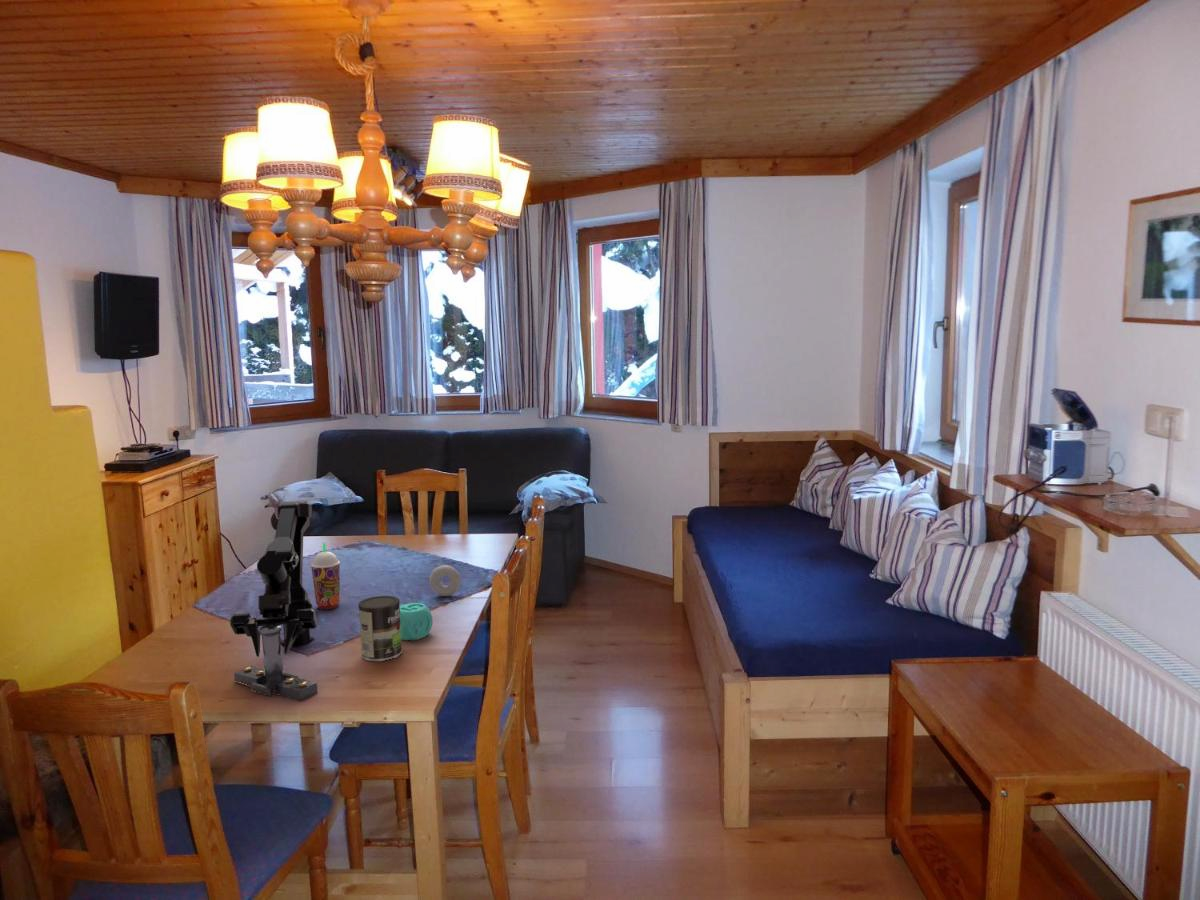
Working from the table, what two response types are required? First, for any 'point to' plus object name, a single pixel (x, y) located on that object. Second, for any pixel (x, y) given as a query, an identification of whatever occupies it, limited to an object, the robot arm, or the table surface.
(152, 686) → the table surface
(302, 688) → the riveted post bracket
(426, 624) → the teal rolled towel
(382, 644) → the coffee can
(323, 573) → the smoothie
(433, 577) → the donut
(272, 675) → the link pin
